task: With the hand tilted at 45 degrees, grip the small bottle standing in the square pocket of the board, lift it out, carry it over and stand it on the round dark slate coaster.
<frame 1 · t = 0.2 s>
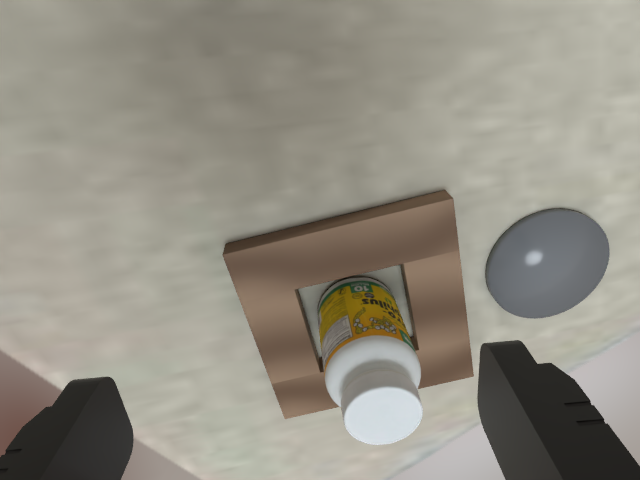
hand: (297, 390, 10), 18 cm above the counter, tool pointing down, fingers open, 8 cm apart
coaster: (544, 263, 30), on the counter
supplement bottle: (356, 306, 31), resting in pocket board
pocket board: (356, 308, 31), on the counter
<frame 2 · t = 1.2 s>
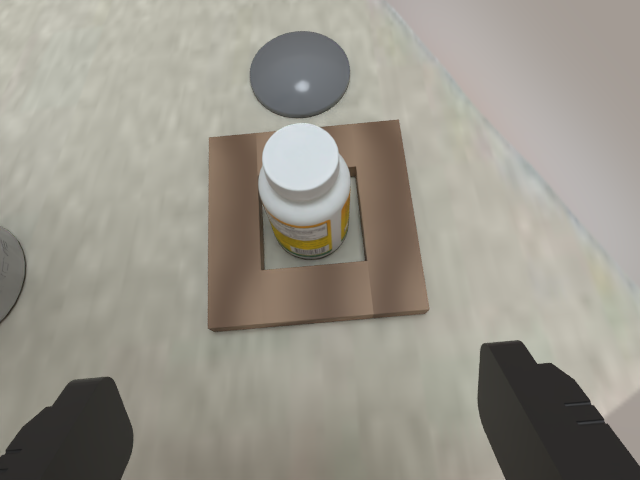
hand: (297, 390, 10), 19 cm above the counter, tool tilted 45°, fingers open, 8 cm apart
coaster: (300, 75, 36), on the counter
supplement bottle: (311, 225, 32), resting in pocket board
pocket board: (311, 224, 32), on the counter
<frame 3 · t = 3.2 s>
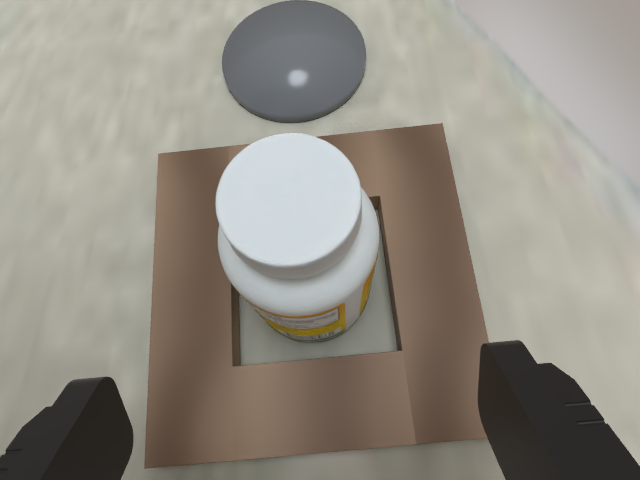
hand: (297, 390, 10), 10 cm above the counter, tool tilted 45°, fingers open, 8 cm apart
coaster: (294, 62, 25), on the counter
supplement bottle: (313, 286, 21), resting in pocket board
pocket board: (312, 284, 21), on the counter
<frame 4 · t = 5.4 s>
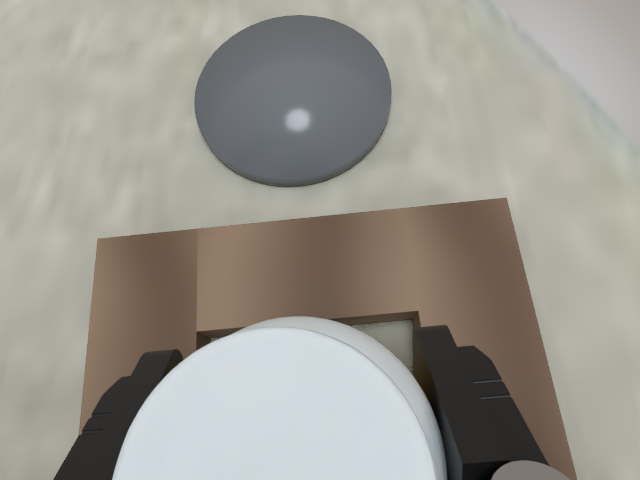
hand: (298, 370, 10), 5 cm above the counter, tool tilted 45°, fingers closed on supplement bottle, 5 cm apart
coaster: (293, 100, 19), on the counter
supplement bottle: (319, 438, 14), resting in pocket board, touching gripper
pocket board: (318, 439, 14), on the counter
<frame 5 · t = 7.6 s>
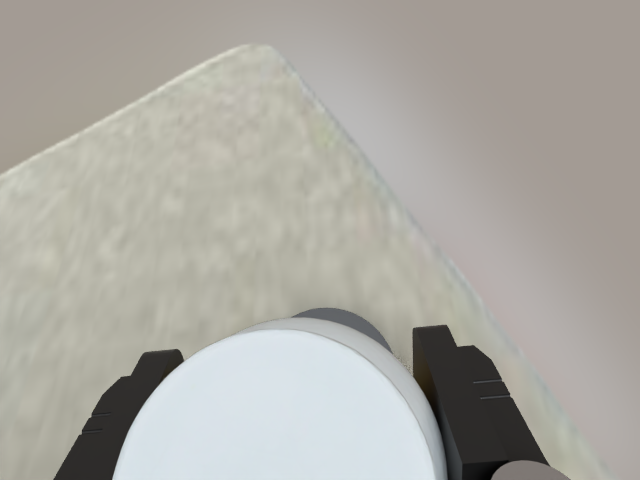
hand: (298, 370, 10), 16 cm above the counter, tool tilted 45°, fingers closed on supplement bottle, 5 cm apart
coaster: (326, 379, 26), on the counter
supplement bottle: (319, 439, 14), point 11 cm above the counter, touching gripper
when the fingers open (6 cm above the counter, at t = 10.1 s): supplement bottle stays where it is, resting on coaster.
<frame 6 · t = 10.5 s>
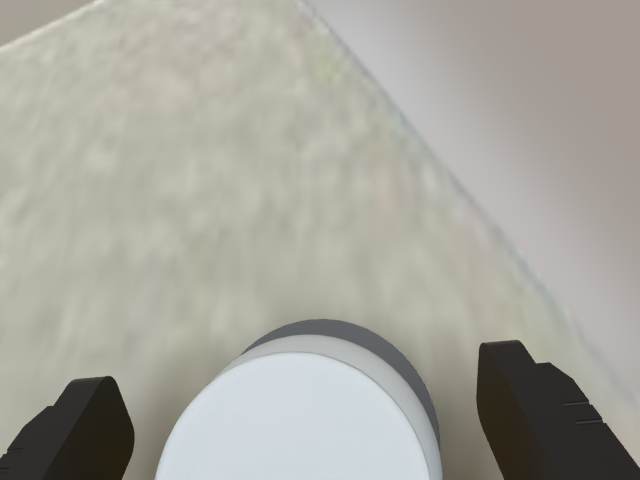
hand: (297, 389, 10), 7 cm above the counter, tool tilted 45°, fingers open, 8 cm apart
coaster: (321, 435, 16), on the counter
supplement bottle: (324, 442, 15), resting on coaster
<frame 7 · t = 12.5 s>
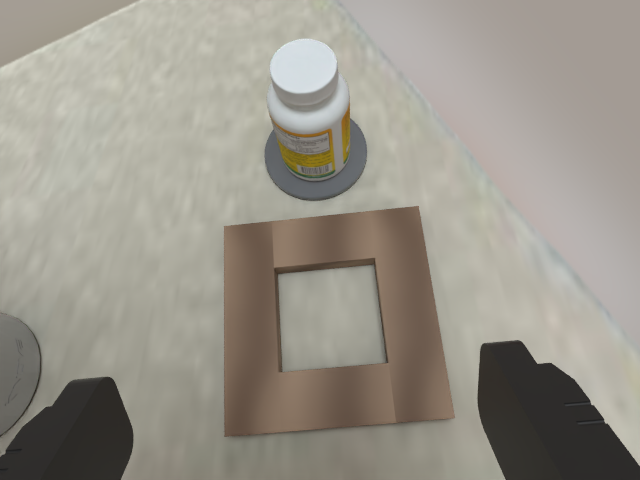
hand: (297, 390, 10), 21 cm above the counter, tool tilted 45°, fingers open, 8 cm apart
coaster: (315, 154, 36), on the counter
supplement bottle: (317, 153, 35), resting on coaster
pocket board: (329, 317, 31), on the counter
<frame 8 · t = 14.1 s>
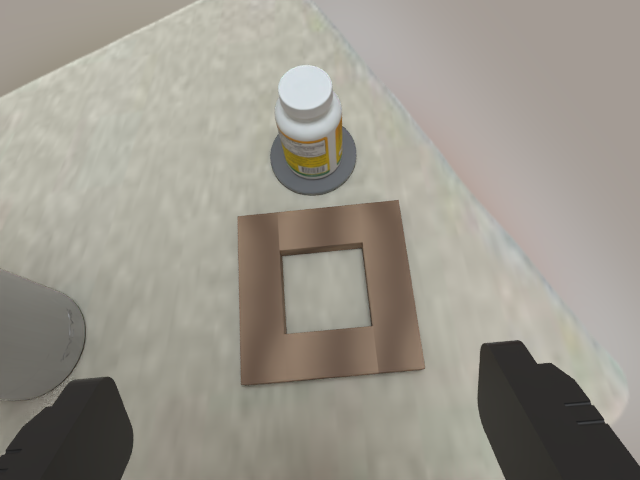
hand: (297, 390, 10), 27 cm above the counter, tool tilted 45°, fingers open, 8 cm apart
coaster: (313, 156, 42), on the counter
supplement bottle: (314, 156, 42), resting on coaster
pocket board: (325, 291, 38), on the counter
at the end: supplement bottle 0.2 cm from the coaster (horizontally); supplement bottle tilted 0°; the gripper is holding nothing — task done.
